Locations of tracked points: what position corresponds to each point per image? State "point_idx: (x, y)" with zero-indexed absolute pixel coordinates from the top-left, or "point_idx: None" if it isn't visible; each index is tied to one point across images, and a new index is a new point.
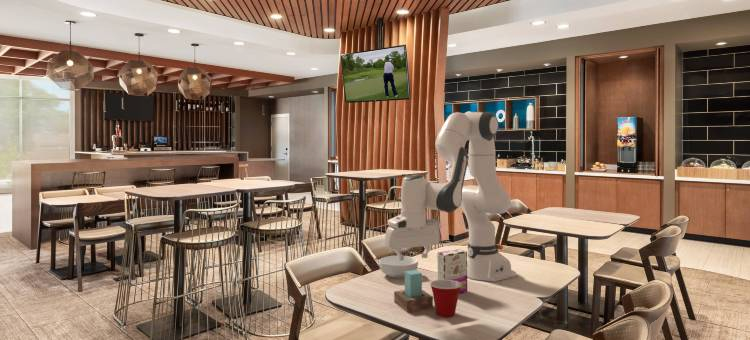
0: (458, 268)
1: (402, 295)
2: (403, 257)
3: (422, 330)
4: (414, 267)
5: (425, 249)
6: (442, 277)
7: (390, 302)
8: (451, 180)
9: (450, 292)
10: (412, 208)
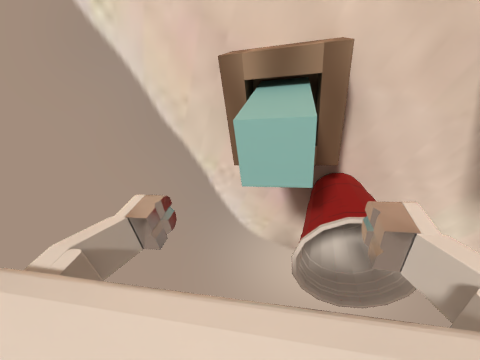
0: None
1: (236, 114)
2: (165, 238)
3: (247, 221)
4: None
5: (453, 276)
6: None
7: (226, 16)
8: None
9: (335, 285)
10: None
